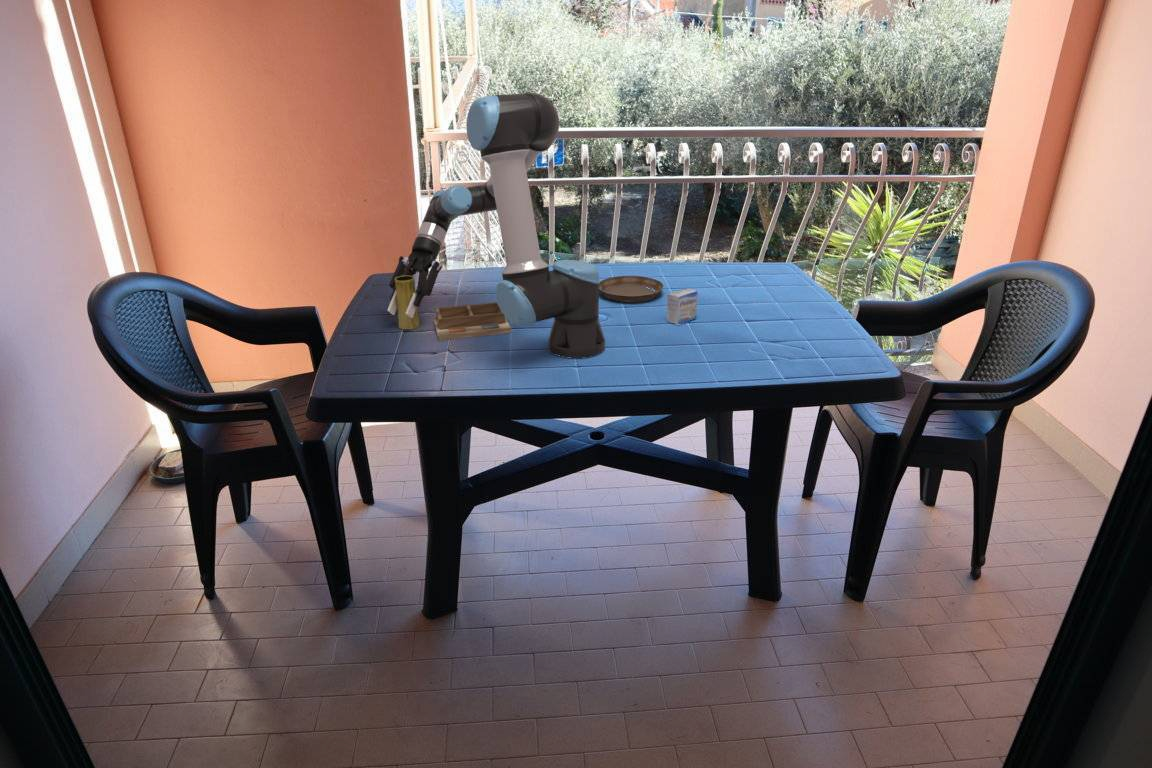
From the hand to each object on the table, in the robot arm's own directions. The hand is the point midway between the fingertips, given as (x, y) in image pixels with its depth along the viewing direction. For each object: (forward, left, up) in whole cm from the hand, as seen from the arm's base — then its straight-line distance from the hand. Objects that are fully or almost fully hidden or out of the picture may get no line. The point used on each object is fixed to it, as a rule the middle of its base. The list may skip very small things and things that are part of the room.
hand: (399, 314), depth 218 cm
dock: (-3, -19, -5) cm, 20 cm away
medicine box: (-14, -78, -5) cm, 80 cm away
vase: (+3, -2, -5) cm, 6 cm away
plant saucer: (+12, -71, -5) cm, 73 cm away
